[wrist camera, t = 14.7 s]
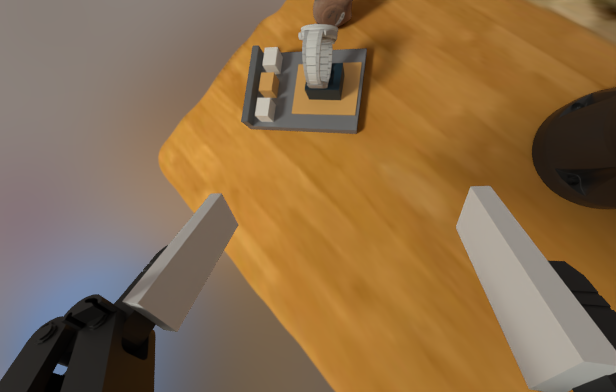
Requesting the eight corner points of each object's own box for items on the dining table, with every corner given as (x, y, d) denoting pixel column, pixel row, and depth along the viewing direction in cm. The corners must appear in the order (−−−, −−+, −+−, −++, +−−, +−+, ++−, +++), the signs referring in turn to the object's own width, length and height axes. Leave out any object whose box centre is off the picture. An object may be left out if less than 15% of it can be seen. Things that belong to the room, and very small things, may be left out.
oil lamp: (364, 3, 38) (364, -50, 31) (368, 23, 38) (370, -26, 30) (315, 22, 40) (304, -24, 33) (319, 41, 40) (309, -1, 32)
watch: (346, 64, 36) (340, 2, 26) (339, 110, 36) (330, 67, 25) (314, 64, 38) (295, 6, 27) (307, 109, 37) (285, 67, 27)
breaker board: (366, 54, 37) (367, 36, 34) (356, 133, 37) (355, 124, 33) (261, 59, 42) (251, 43, 38) (250, 128, 42) (239, 120, 38)
